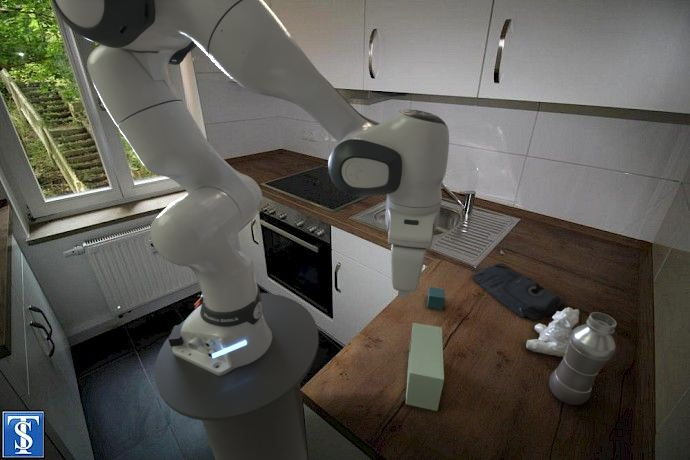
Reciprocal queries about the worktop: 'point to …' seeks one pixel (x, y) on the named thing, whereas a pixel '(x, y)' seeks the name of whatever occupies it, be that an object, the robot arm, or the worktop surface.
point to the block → (436, 298)
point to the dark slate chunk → (517, 291)
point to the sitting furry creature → (555, 333)
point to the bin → (425, 367)
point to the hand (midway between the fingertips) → (404, 280)
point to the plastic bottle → (583, 359)
